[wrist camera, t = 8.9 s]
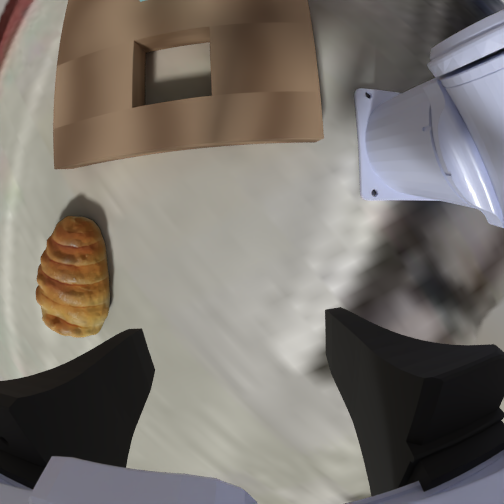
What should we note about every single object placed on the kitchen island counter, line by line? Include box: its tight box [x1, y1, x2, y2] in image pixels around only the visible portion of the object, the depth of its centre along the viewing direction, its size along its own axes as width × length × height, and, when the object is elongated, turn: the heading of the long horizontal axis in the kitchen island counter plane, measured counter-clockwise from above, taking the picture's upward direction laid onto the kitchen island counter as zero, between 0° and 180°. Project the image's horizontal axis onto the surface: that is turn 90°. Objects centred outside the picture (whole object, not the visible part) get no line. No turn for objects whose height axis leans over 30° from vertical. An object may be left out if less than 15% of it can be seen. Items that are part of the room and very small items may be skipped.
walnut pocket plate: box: [53, 0, 324, 169], centre depth 15 cm, size 18×20×2 cm
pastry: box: [36, 216, 110, 337], centre depth 20 cm, size 9×7×4 cm
